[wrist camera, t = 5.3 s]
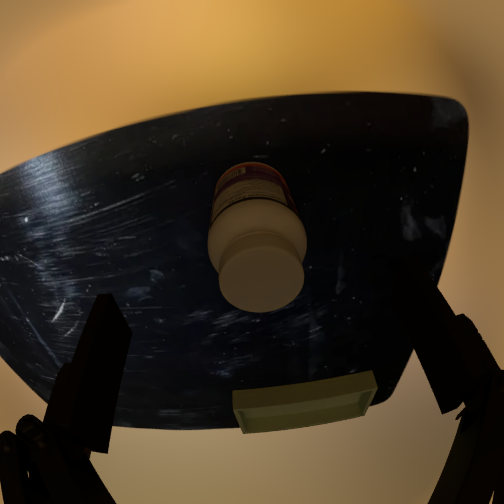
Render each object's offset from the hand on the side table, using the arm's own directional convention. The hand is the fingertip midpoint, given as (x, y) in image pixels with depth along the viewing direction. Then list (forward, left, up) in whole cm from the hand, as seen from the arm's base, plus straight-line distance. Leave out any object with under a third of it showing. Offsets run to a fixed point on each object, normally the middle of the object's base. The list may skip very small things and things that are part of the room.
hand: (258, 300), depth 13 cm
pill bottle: (0, 0, -11) cm, 11 cm away
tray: (-4, +32, -11) cm, 34 cm away
